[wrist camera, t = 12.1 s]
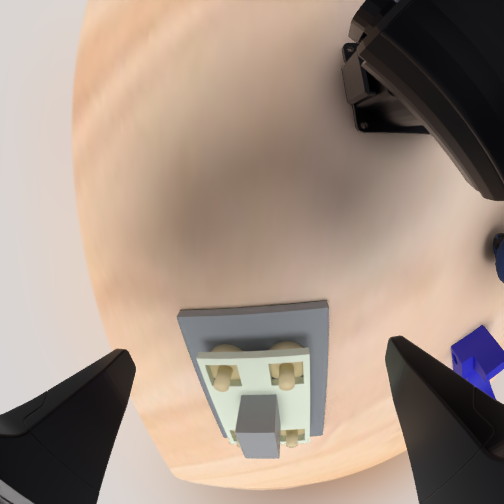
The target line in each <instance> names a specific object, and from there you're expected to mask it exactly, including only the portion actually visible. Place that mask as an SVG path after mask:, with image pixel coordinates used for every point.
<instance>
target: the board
mask: <svg viewBox="0 0 504 504" xmlns="http://www.w3.org/2000/svg"><path fill="white" fill-rule="evenodd" d="M196 359H197V362H198V365H199V367H200V370H201V373H202V375H203V378H204V381H205V383H206V386H207V389H208V391H209V394H210V396H211V399H212V401H213V404H214V406H215V409H216V411H217V413H218V416H219V418H220V421H221V423H222V425H223V427H224V430H225V432H226V434H227V437H228V439H229V441H230V443H231V444H237V439H238V442H239V444H240V447H241V449H242V451H243V454H244V456H245V458H279V453H280V444H286V436H280V430H295V429H305V434H304V435H298V444H299V443H309V442H310V353H309V347H306V348H295V349H282V350H265V351H242V352H199V353H198V356H197V358H196ZM291 362H303V377H294V378H295V387H294V388H293V389H292V390H289V391H284V390H281V389H280V388H279V378H277V379H272V375H271V368H270V364H276V363H291ZM209 365H237V367H238V371H239V375H240V379H241V380H231V381H230V386H229V390H228V391H226V392H220V391H217V390H216V389H215V388H214V382H215V380H214V378H213V375H212V372H211V369H210V367H209ZM233 430H235V434H236V436H235V434H234V432H233Z"/></svg>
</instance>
